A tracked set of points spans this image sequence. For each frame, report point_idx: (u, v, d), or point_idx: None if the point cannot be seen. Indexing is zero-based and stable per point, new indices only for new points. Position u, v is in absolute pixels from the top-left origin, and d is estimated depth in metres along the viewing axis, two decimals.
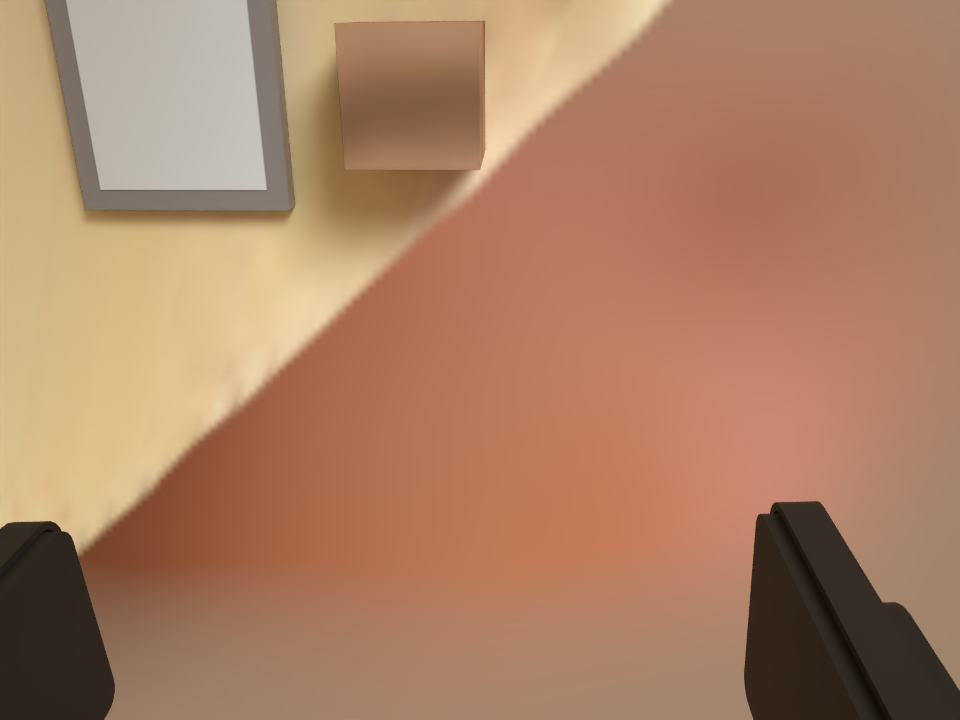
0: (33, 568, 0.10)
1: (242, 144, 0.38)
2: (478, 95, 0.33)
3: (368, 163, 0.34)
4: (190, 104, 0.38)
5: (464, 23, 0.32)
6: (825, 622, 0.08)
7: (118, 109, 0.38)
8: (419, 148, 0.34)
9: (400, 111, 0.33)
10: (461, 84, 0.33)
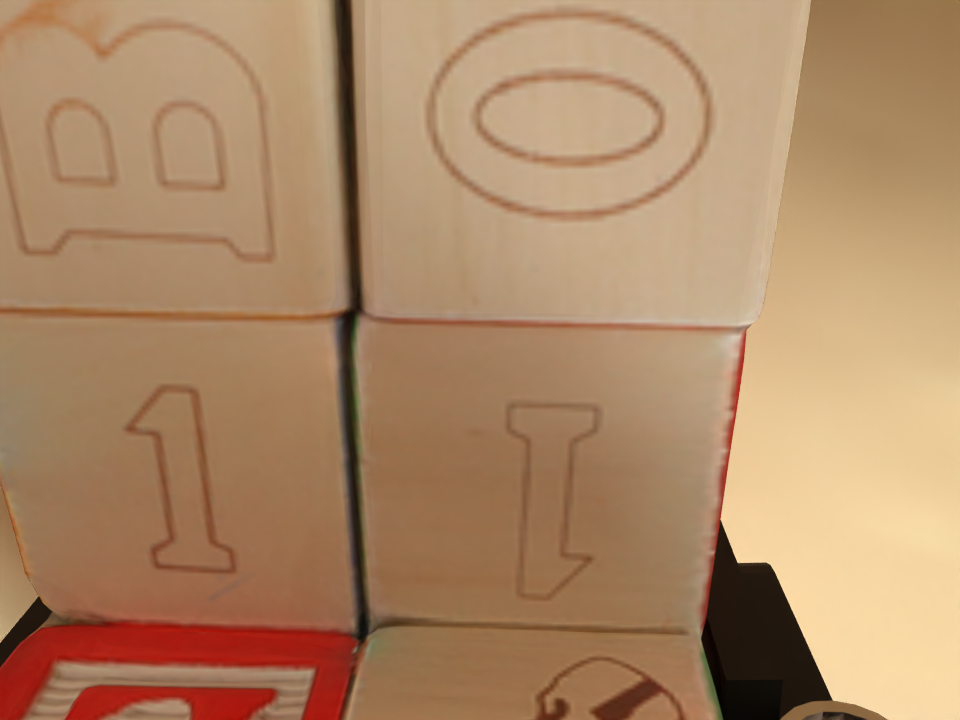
0: None
1: None
2: None
3: None
4: None
5: None
6: None
7: None
8: None
9: None
10: None
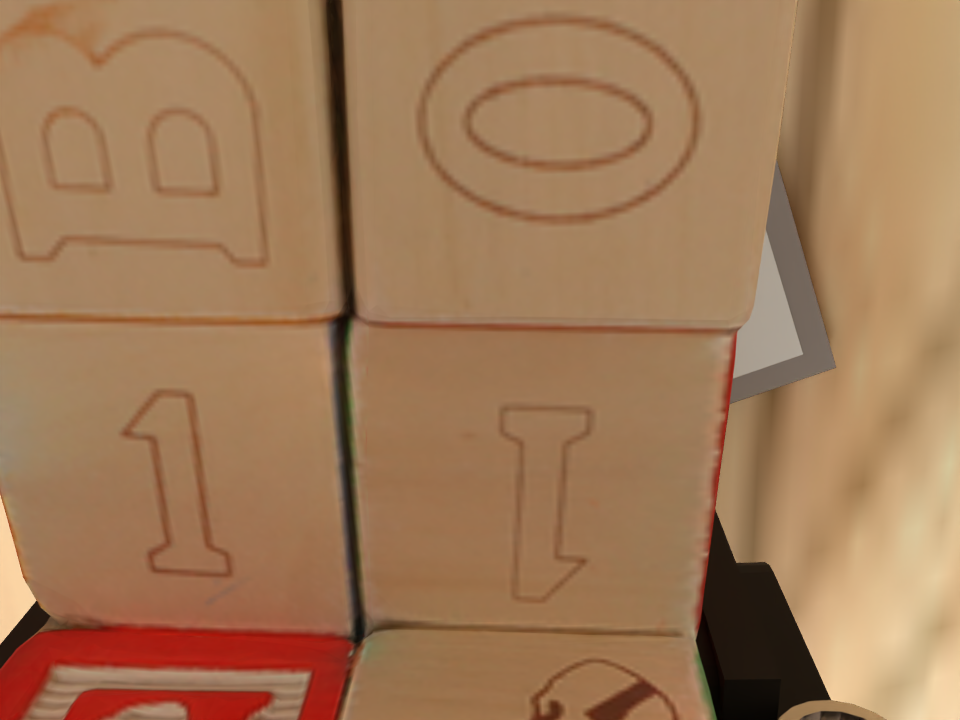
0: None
1: None
2: None
3: None
4: None
5: None
6: None
7: None
8: None
9: None
10: None
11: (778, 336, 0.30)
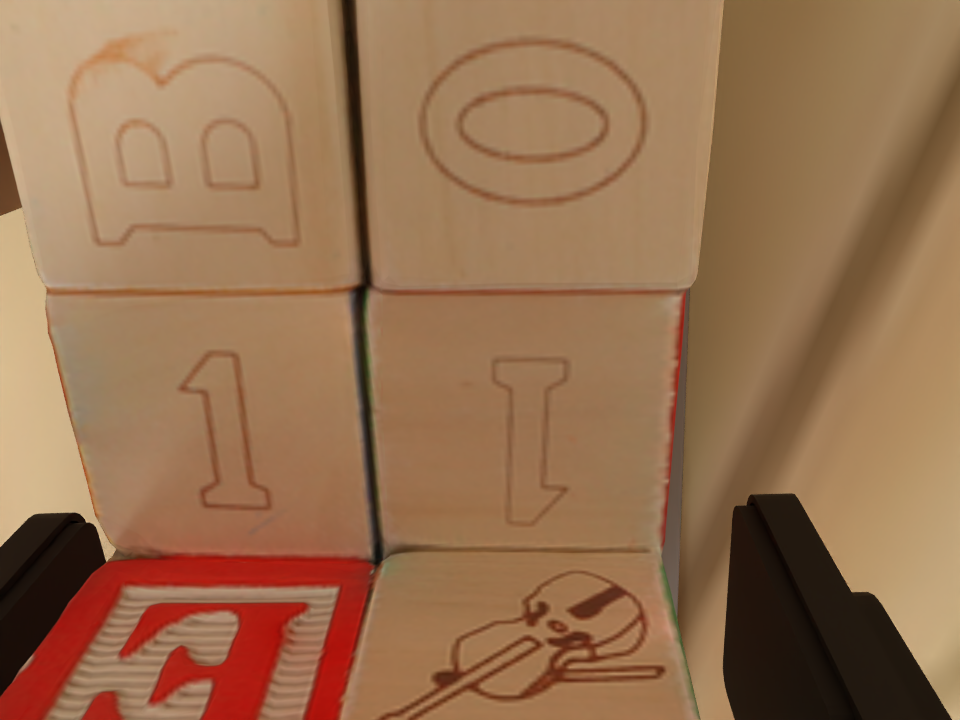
0: (60, 558, 0.10)
1: None
2: None
3: None
4: None
5: None
6: (794, 610, 0.08)
7: None
8: None
9: None
10: None
11: None
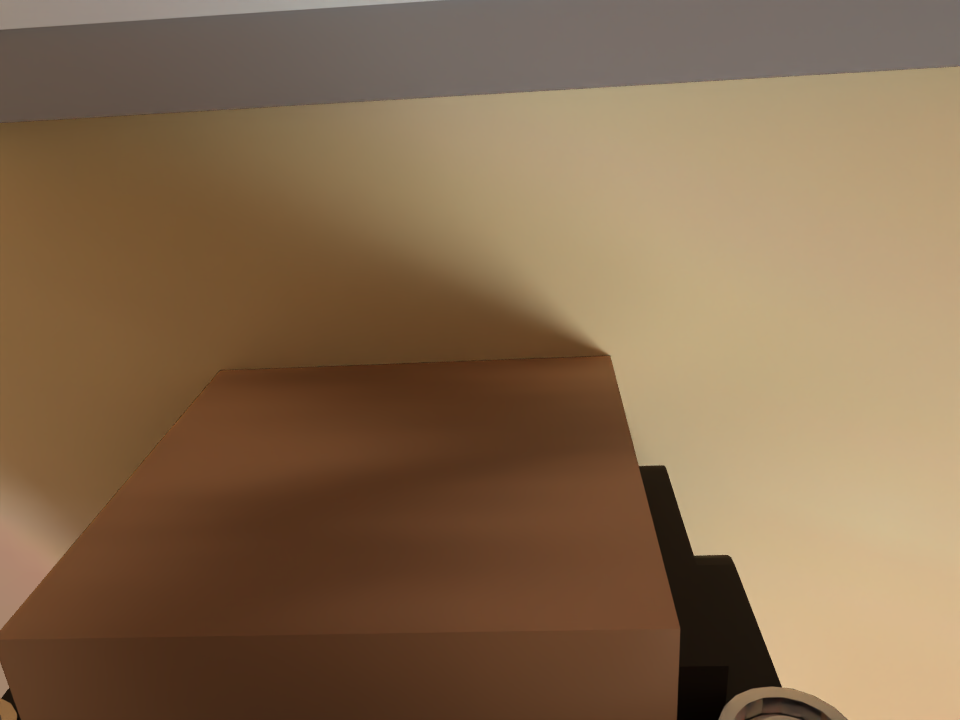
0: None
1: None
2: None
3: None
4: None
5: None
6: None
7: None
8: None
9: None
10: None
11: None
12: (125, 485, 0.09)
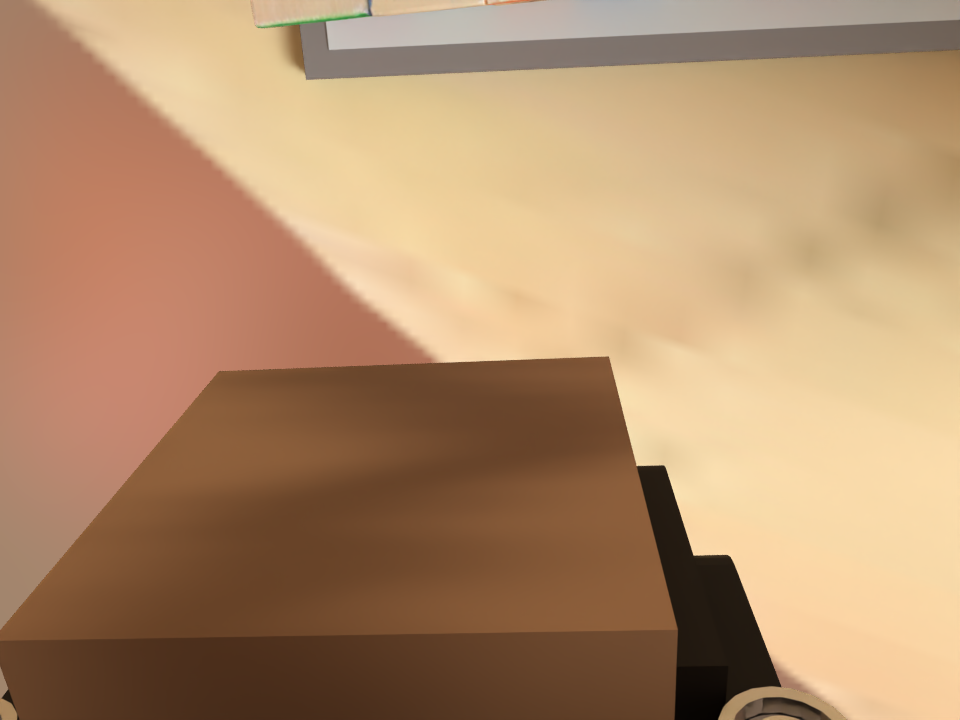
0: None
1: (383, 20, 0.30)
2: None
3: None
4: None
5: None
6: None
7: None
8: None
9: None
10: None
11: None
12: (124, 486, 0.09)
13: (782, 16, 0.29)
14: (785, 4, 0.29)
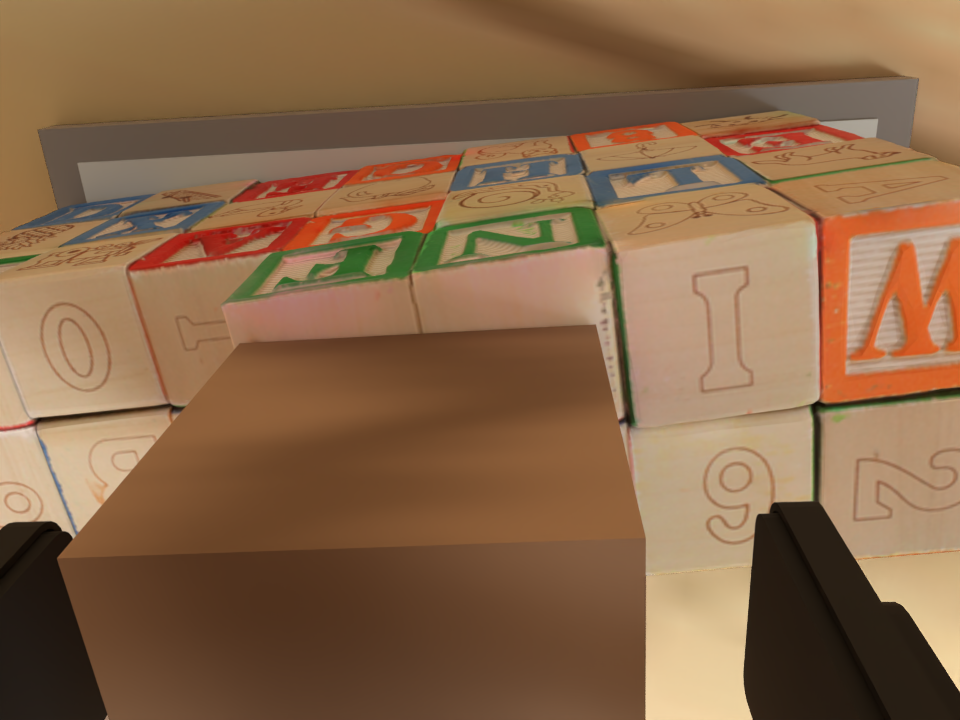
0: (34, 568, 0.10)
1: None
2: None
3: (107, 641, 0.08)
4: None
5: None
6: (824, 622, 0.08)
7: None
8: None
9: None
10: None
11: None
12: (160, 438, 0.10)
13: None
14: None
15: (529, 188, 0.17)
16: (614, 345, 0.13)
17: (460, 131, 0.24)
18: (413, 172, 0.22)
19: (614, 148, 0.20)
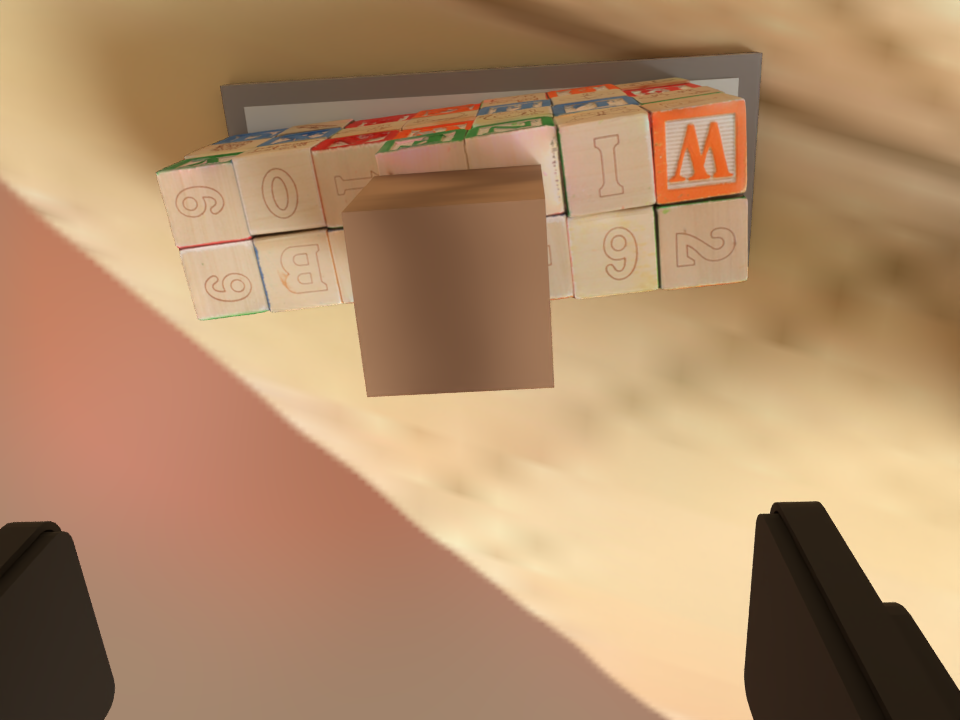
0: (33, 568, 0.10)
1: None
2: (463, 390, 0.25)
3: (355, 247, 0.23)
4: None
5: (552, 370, 0.24)
6: (825, 622, 0.08)
7: None
8: (385, 317, 0.24)
9: (433, 291, 0.24)
10: (476, 369, 0.24)
11: None
12: (358, 194, 0.25)
13: None
14: None
15: (520, 111, 0.32)
16: (558, 174, 0.28)
17: (483, 86, 0.39)
18: (452, 111, 0.37)
19: (570, 95, 0.35)
